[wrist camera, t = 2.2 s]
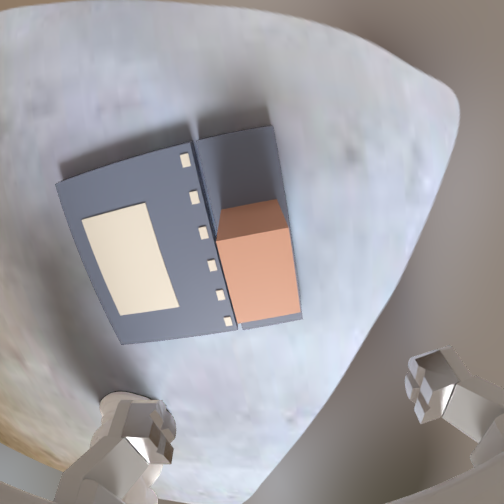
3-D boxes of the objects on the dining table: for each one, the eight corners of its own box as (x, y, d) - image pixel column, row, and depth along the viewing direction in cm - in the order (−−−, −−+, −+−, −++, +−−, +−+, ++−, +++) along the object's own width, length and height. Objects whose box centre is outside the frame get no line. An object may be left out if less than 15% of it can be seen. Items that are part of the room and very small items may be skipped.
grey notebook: (125, 335, 25) (121, 345, 24) (63, 180, 19) (54, 184, 18) (237, 320, 25) (237, 330, 24) (192, 140, 19) (189, 142, 18)
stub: (242, 320, 25) (244, 378, 19) (198, 139, 19) (181, 151, 13) (300, 310, 25) (315, 365, 19) (271, 125, 19) (285, 130, 13)
